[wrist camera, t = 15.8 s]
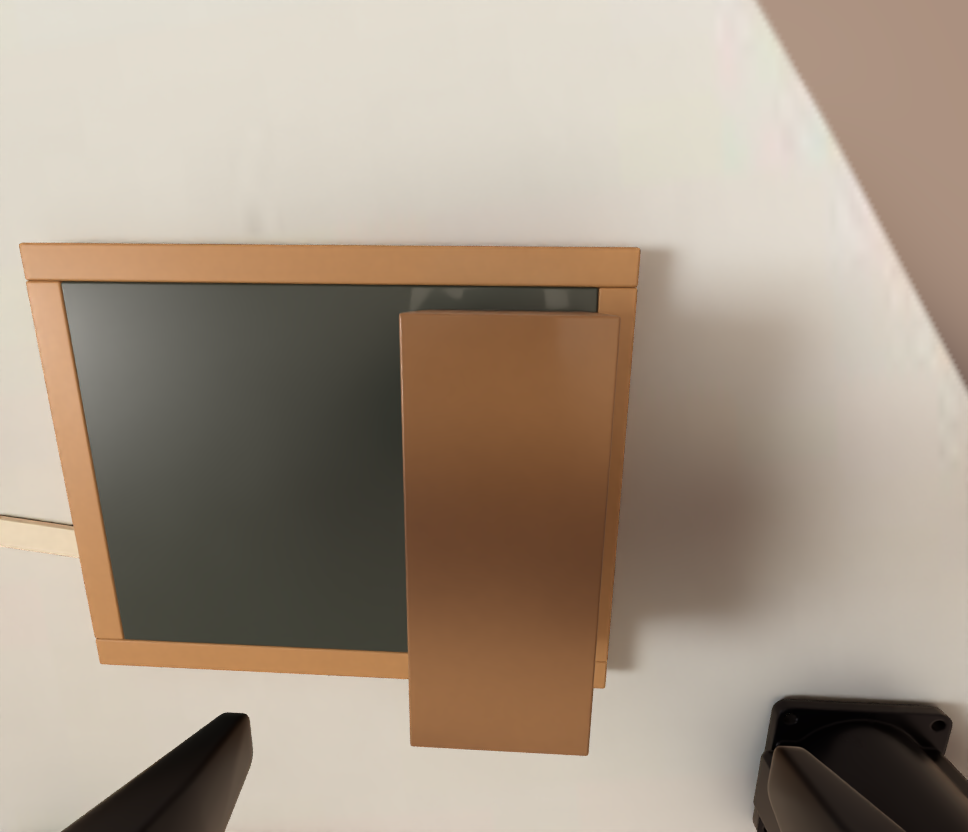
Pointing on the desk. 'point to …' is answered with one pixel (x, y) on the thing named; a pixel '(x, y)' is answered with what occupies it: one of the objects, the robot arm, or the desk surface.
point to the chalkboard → (269, 435)
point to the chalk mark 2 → (38, 536)
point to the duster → (505, 522)
